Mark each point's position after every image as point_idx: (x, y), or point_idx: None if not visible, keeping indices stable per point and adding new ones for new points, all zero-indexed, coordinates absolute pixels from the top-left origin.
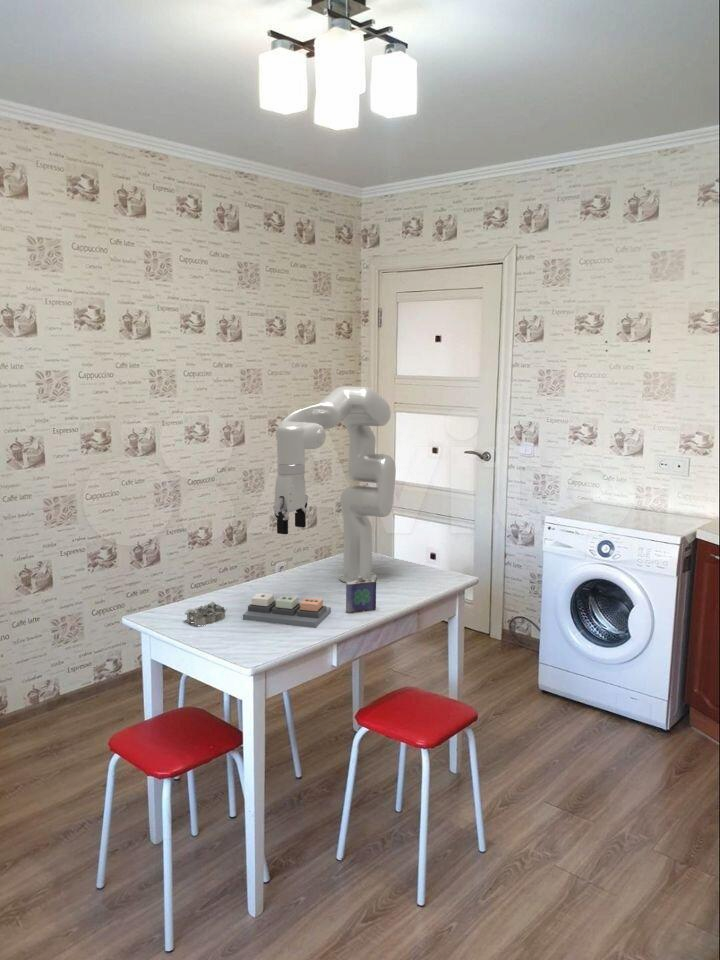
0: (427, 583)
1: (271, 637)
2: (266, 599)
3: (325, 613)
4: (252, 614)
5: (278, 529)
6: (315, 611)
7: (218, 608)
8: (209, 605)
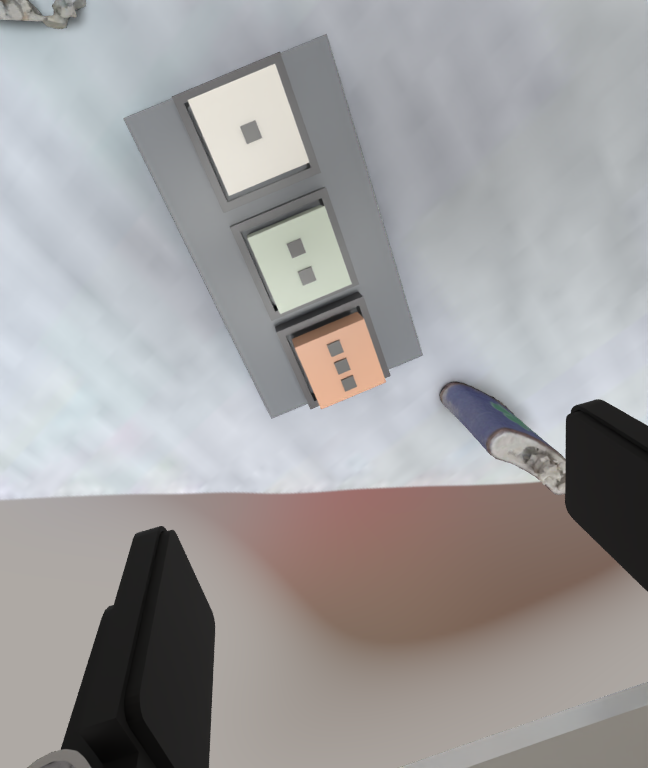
0: None
1: (96, 366)
2: (227, 189)
3: None
4: (160, 159)
5: (104, 618)
6: None
7: None
8: None
